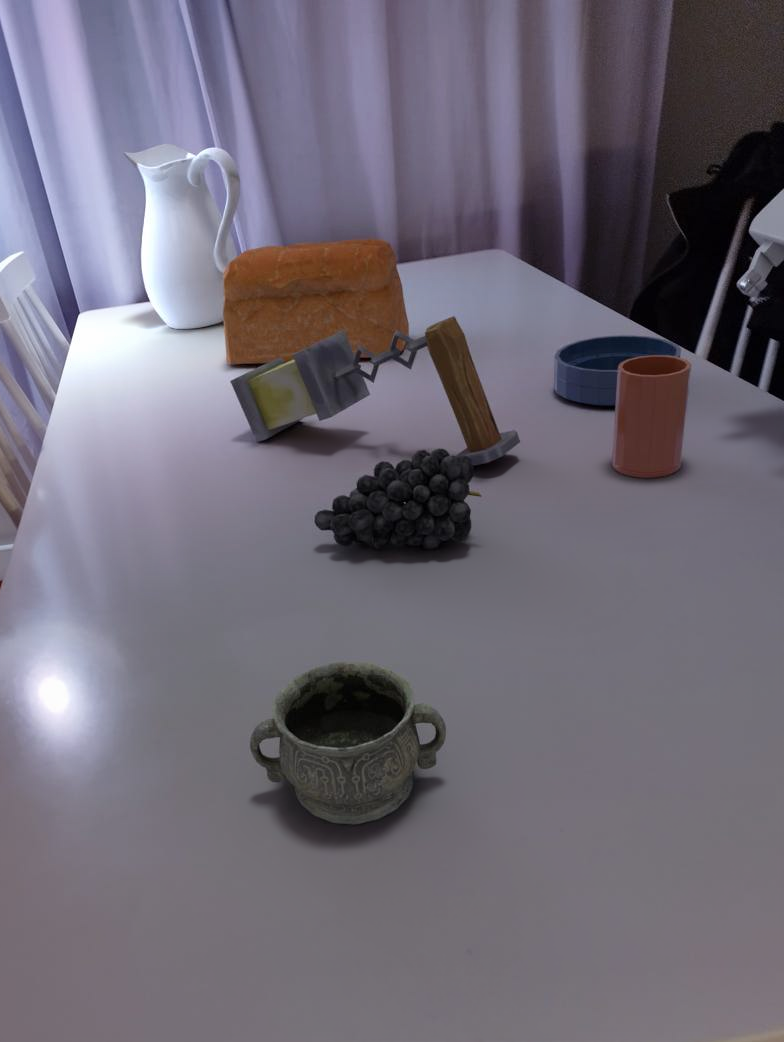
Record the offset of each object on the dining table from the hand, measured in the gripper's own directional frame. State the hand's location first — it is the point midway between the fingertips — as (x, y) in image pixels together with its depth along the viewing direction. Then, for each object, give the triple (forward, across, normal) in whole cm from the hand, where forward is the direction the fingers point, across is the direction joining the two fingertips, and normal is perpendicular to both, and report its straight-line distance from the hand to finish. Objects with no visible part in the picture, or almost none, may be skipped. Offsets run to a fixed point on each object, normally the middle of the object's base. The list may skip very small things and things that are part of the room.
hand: (770, 303), depth 86 cm
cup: (+17, -1, +3) cm, 18 cm away
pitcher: (+46, -87, -25) cm, 102 cm away
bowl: (+13, -23, +7) cm, 28 cm away
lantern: (+35, -18, -14) cm, 41 cm away
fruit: (+36, +6, -16) cm, 40 cm away
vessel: (+43, +38, -23) cm, 62 cm away
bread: (+36, -59, -14) cm, 70 cm away
